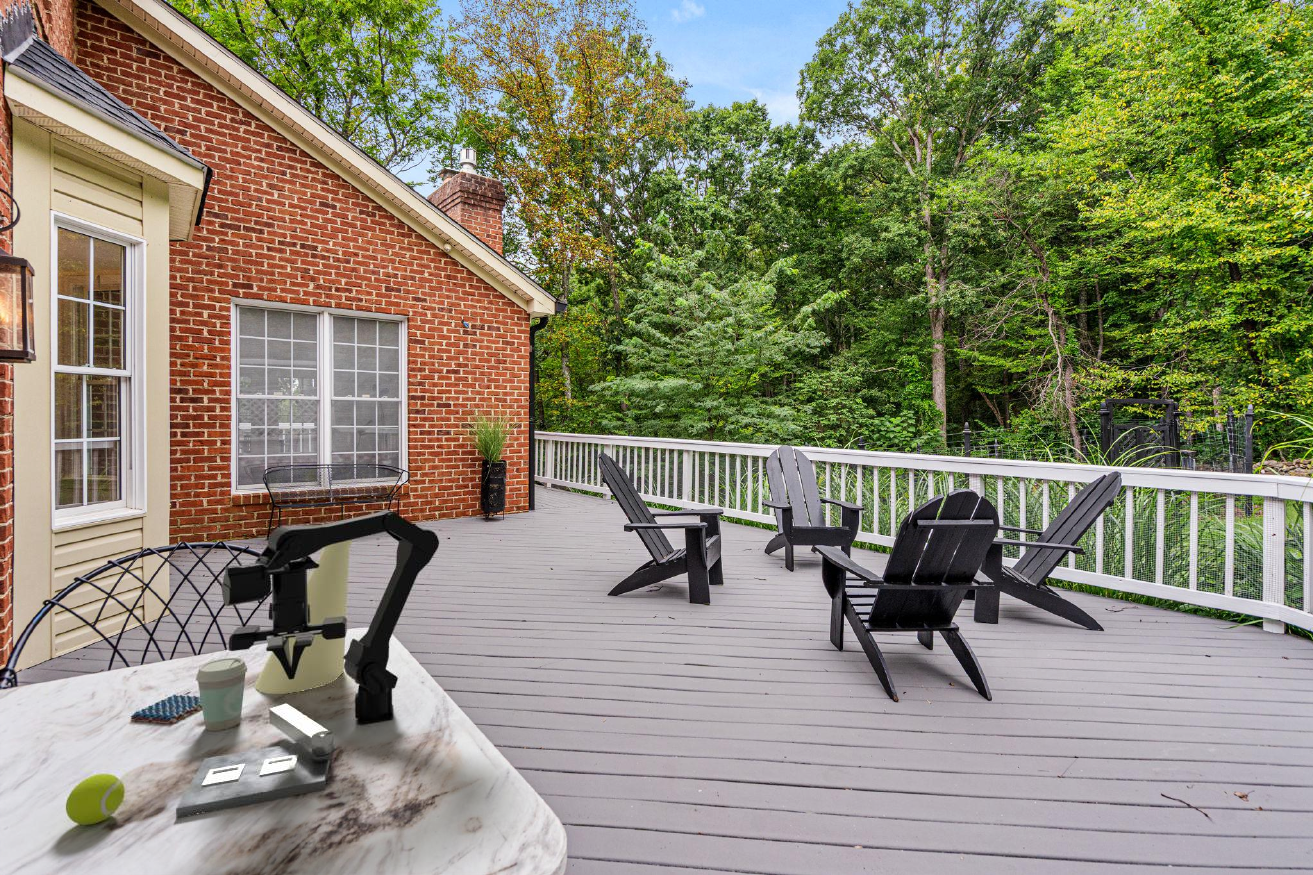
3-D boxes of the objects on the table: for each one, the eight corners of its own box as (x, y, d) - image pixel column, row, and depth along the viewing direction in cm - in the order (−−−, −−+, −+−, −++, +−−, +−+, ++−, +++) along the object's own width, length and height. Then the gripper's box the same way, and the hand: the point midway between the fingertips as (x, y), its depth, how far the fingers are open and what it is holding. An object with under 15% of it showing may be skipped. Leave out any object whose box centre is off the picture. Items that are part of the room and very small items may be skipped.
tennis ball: (94, 807, 101) (93, 764, 101) (136, 808, 101) (135, 765, 101) (53, 834, 95) (52, 788, 95) (98, 835, 95) (97, 789, 94)
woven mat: (216, 704, 140) (216, 695, 140) (172, 727, 130) (172, 717, 130) (174, 701, 142) (174, 692, 142) (127, 724, 131) (127, 714, 131)
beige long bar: (336, 750, 113) (335, 734, 113) (316, 757, 111) (316, 741, 111) (287, 717, 126) (286, 702, 126) (268, 723, 124) (268, 708, 124)
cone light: (235, 686, 148) (232, 533, 148) (307, 659, 165) (304, 521, 164) (313, 704, 139) (309, 539, 138) (380, 673, 156) (377, 526, 155)
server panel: (336, 744, 121) (336, 730, 121) (328, 788, 106) (328, 773, 106) (204, 767, 113) (204, 752, 113) (176, 818, 98) (175, 801, 98)
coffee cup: (223, 736, 125) (221, 673, 124) (185, 732, 126) (184, 670, 126) (258, 716, 133) (257, 658, 133) (223, 713, 135) (222, 655, 134)
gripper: (348, 580, 132) (349, 657, 132) (241, 590, 125) (242, 671, 126) (344, 593, 122) (346, 676, 122) (227, 604, 115) (229, 692, 115)
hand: (291, 678), depth 122 cm, fingers closed
